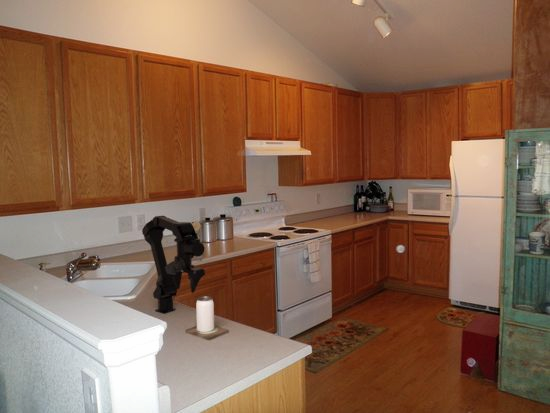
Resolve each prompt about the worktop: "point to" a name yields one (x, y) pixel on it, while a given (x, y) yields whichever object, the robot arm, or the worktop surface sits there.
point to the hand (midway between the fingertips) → (185, 290)
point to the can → (205, 314)
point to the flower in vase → (196, 227)
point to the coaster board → (208, 335)
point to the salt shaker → (198, 257)
